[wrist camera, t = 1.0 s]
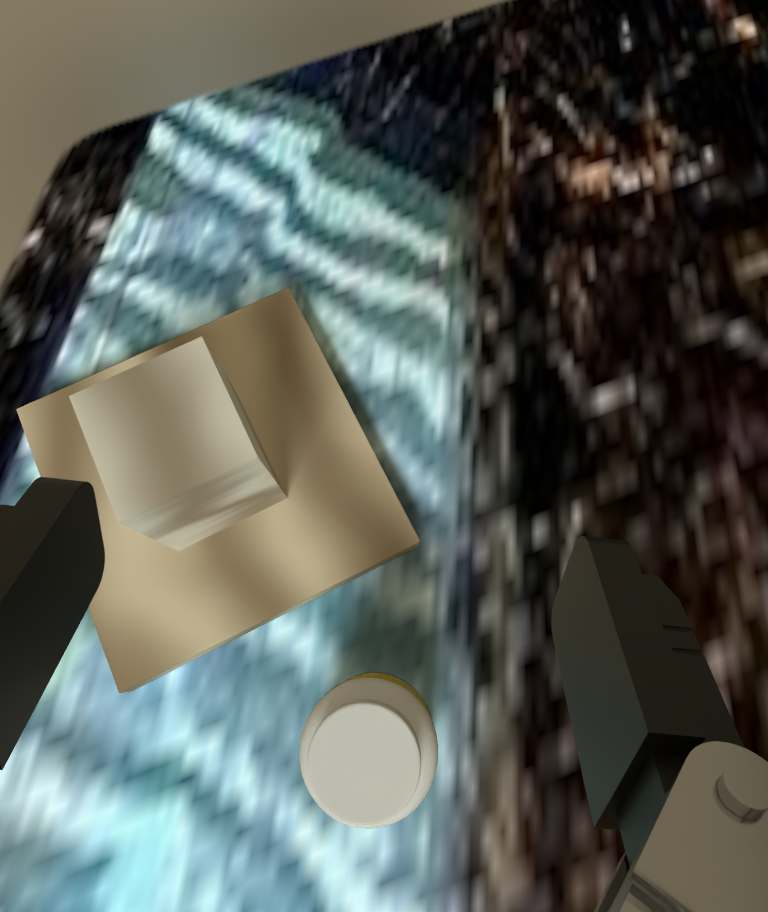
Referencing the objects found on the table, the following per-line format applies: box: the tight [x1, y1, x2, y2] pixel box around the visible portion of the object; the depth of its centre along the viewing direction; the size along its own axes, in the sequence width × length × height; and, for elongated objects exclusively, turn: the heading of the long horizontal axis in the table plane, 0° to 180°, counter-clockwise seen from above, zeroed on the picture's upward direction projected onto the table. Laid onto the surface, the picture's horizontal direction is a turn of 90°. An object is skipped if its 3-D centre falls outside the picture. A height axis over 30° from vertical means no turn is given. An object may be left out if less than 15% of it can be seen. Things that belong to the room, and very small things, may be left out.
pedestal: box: [16, 287, 420, 693], centre depth 32 cm, size 16×16×9 cm
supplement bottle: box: [300, 673, 438, 828], centre depth 28 cm, size 5×5×10 cm
